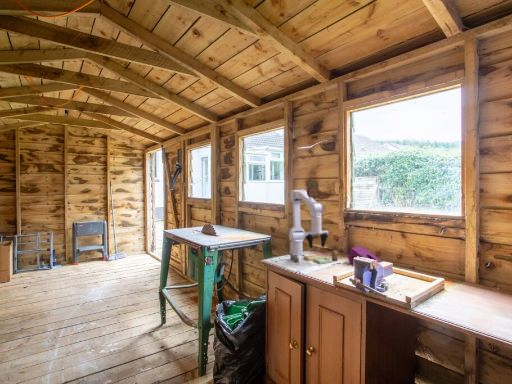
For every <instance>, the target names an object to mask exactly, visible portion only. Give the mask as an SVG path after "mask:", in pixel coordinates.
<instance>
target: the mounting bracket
mask: <svg viewBox="0 0 512 384" xmlns="http://www.w3.org/2000/svg"><path fill="white" fill-rule="evenodd" d="M357 256H359V257H365V258H370V259H374V260H377V261H378V262H383V260H381V259H380V258H379V257H377V256H376V255H375V254H373V253H372V252H370V251H369V250H368V249H367V248H366V247H364V246H363V245H360V246H353V247H351V248H350V250H349V252H348V255H347V259H348V261H349V263H350V264H351V265H353V258H354V257H357Z"/></svg>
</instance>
